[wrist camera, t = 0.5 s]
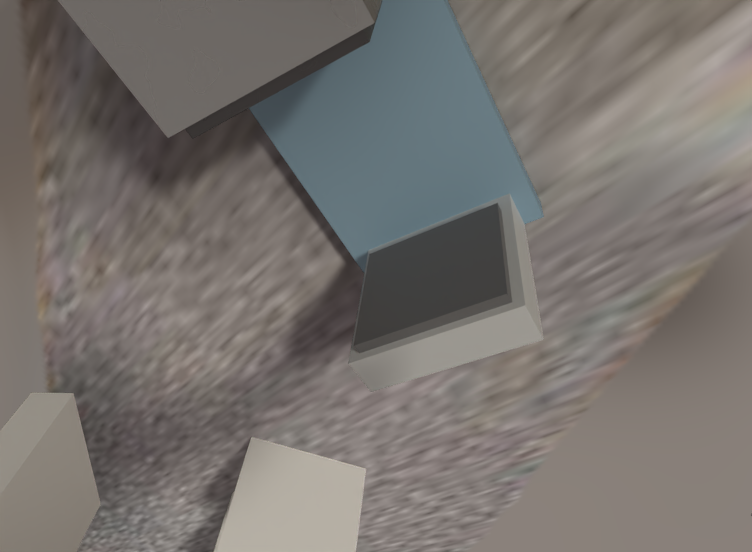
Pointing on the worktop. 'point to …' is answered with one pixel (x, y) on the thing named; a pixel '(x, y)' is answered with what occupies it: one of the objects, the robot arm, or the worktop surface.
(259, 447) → the grey rectangular blocks
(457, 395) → the worktop surface
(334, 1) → the block
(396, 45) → the base
